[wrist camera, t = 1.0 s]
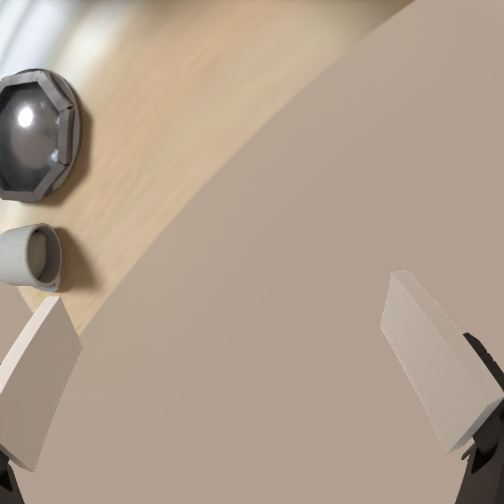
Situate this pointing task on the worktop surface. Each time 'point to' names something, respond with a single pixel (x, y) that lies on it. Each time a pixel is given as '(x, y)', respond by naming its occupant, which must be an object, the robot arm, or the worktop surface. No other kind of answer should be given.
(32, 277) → the ceramic mug
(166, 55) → the worktop surface
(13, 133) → the ring plate
